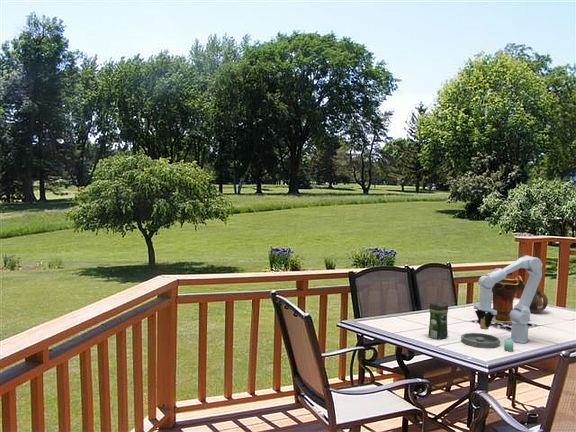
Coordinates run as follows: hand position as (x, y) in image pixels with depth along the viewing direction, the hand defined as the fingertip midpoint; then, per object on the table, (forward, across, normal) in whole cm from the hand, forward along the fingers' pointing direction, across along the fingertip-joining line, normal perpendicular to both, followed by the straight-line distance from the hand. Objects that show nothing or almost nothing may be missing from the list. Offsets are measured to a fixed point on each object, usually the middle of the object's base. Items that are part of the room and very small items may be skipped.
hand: (484, 325), depth 273 cm
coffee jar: (+8, -13, -19) cm, 24 cm away
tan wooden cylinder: (+2, 0, 0) cm, 2 cm away
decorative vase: (+8, -32, +43) cm, 54 cm away
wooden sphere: (+8, -41, +78) cm, 88 cm away
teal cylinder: (+8, +17, 0) cm, 19 cm away
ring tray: (+8, +2, -4) cm, 9 cm away
